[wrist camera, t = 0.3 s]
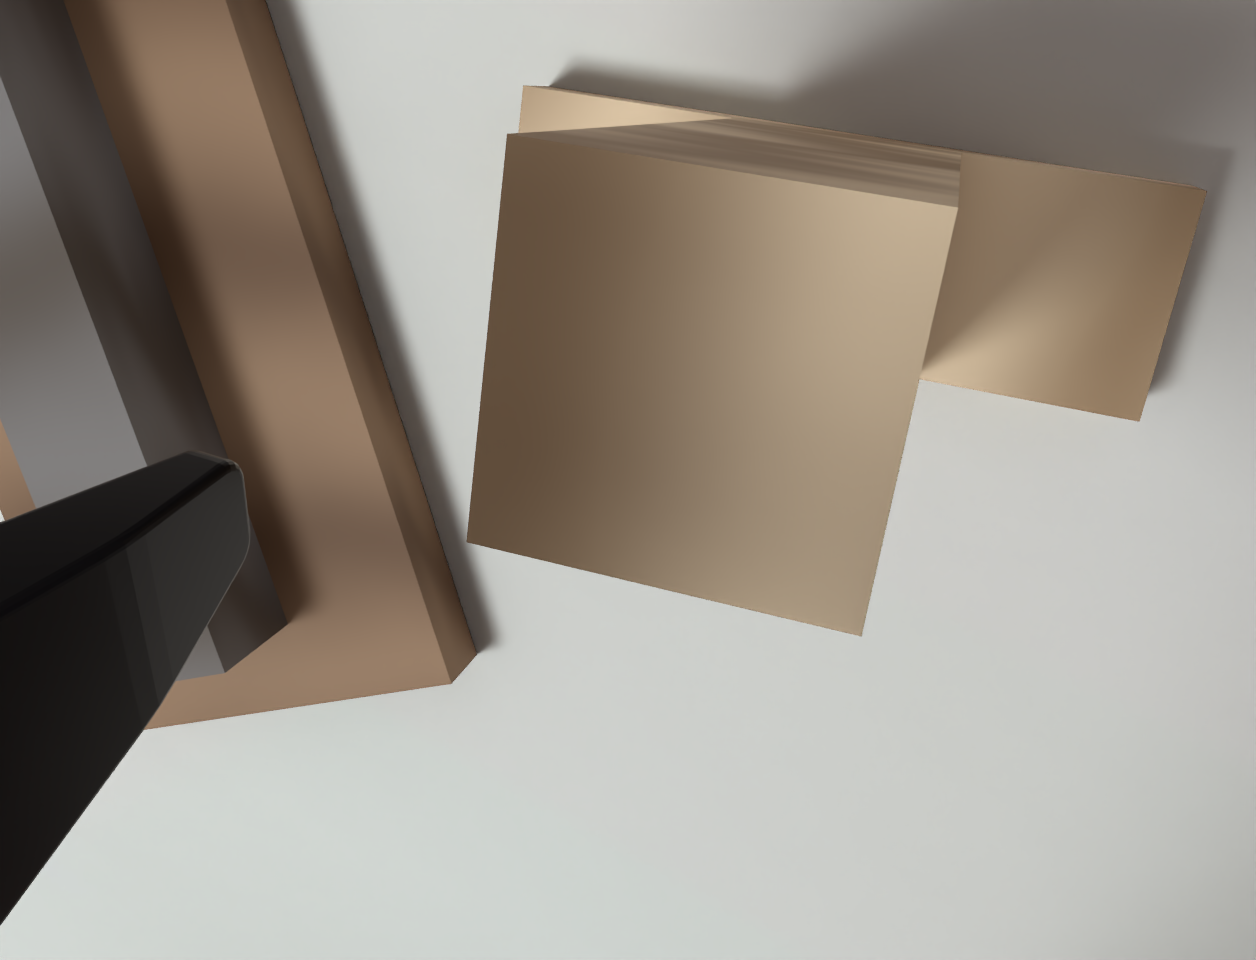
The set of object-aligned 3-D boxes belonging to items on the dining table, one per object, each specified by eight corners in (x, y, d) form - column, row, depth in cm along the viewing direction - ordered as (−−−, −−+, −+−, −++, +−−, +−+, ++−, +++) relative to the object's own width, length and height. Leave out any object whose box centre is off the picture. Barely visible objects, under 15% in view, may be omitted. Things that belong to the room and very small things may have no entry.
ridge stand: (476, 654, 28) (402, 739, 24) (132, 708, 31) (19, 791, 27) (175, -279, 23) (27, -350, 20) (-191, -103, 26) (-378, -136, 23)
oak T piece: (1190, 184, 21) (1489, 295, 9) (1128, 401, 22) (1317, 746, 10) (549, 86, 24) (119, 70, 12) (527, 287, 25) (120, 460, 13)
